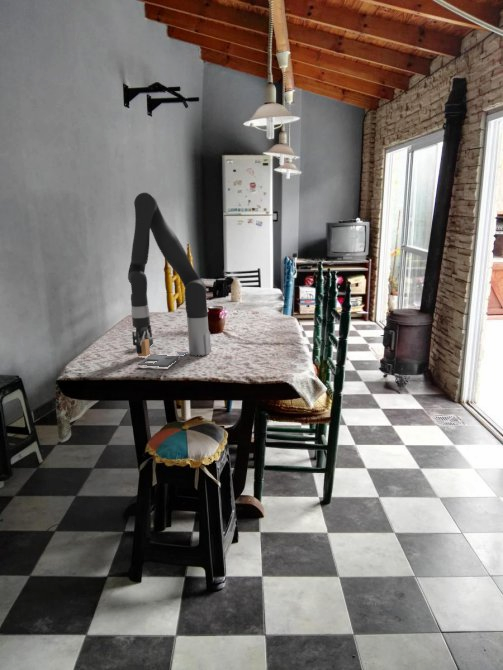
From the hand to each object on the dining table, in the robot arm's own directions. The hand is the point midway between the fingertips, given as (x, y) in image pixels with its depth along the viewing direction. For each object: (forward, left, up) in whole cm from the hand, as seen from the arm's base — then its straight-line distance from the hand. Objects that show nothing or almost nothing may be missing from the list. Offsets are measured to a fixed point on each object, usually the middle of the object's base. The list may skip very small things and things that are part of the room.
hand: (143, 350), depth 230 cm
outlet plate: (-11, +9, -3) cm, 15 cm away
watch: (+7, -17, -3) cm, 19 cm away
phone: (-11, -6, -4) cm, 13 cm away
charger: (0, 0, -3) cm, 3 cm away
